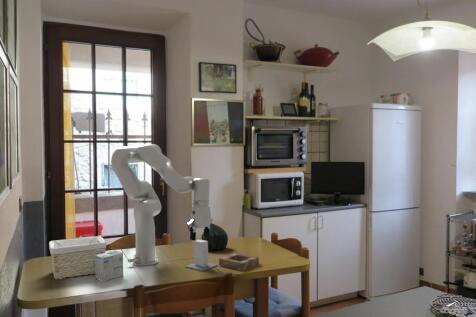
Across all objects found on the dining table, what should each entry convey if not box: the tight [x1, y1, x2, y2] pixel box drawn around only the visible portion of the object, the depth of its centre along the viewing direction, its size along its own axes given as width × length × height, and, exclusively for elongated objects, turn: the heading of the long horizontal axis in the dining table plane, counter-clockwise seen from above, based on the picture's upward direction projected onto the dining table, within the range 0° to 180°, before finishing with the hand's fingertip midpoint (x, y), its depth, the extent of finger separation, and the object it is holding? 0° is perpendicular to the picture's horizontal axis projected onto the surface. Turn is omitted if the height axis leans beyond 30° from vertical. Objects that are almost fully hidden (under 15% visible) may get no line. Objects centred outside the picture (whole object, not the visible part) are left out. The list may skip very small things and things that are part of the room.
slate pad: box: [185, 262, 219, 272], centre depth 204 cm, size 11×11×1 cm
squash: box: [200, 222, 229, 251], centre depth 238 cm, size 14×15×15 cm
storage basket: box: [48, 235, 107, 280], centre depth 195 cm, size 24×16×15 cm
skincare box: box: [192, 239, 209, 267], centre depth 204 cm, size 6×4×12 cm
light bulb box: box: [94, 250, 124, 282], centre depth 187 cm, size 11×7×11 cm, turn 141°
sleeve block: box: [218, 252, 260, 272], centre depth 206 cm, size 14×14×4 cm
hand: (199, 238), depth 204 cm, fingers open, 9 cm apart
